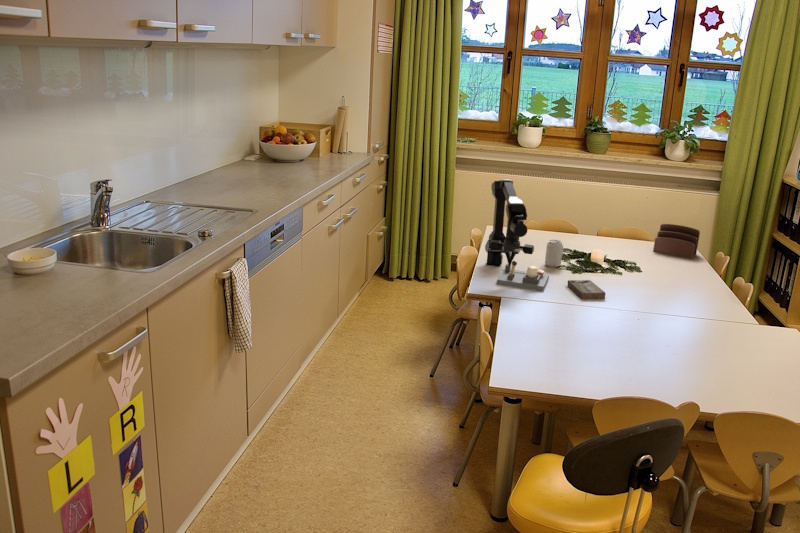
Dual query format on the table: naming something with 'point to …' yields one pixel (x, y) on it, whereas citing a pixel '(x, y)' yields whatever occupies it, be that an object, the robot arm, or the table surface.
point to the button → (532, 272)
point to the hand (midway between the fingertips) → (509, 265)
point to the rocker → (540, 272)
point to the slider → (507, 268)
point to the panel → (523, 280)
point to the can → (554, 253)
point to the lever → (513, 268)
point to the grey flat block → (586, 289)
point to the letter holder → (677, 240)
